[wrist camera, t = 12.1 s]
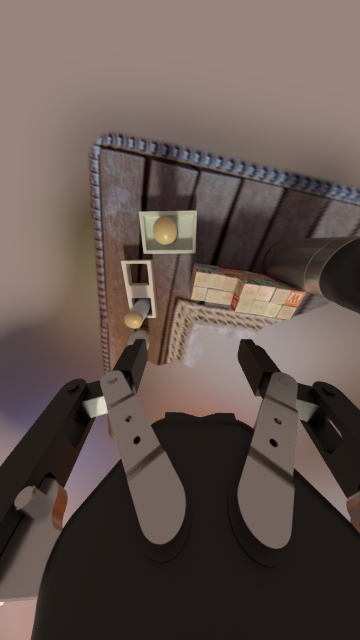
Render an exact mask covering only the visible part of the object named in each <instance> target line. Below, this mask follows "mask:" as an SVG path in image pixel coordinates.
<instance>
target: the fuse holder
mask: <svg viewBox="0 0 360 640" xmlns="http://www.w3.org/2000/svg"><path fill="white" fill-rule="evenodd" d="M121 263H122V268H123V274H124V280H125V285H126V291H127V296H128V302H129V308H130V309H131V308H132V307H133V306H134V304H135V303H136V301H135V298H151V305H152V311H148V313H147V315H146V317H145V318H156V317H157V314H158V311H157V300H156V289H155V277H154V266H153V260H123V261H121ZM130 264H147V267H148V277H149V283H133V282H132V275H131V269H130Z"/></svg>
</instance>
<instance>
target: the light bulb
mask: <svg viewBox="0 0 360 640" xmlns="http://www.w3.org/2000/svg"><path fill="white" fill-rule="evenodd" d="M135 339H145V340H146V346H147V349H148V347H149V345H150V339H149V337H148V329H147V328H146V327H142V328H141V329H140V330H139V331H138V332H135V333H133V334H131V335H130V337H129V339H128V345H133V343H134V341H135Z"/></svg>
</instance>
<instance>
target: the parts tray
mask: <svg viewBox="0 0 360 640" xmlns="http://www.w3.org/2000/svg"><path fill="white" fill-rule="evenodd" d="M139 216H140V225H141V234H142V243H143V252H144V254H166V253H195V252H196V221H197V211H148V212H139ZM160 217H169V218H170V219H172V220H173V221H174V223H175V225H176V227H177V229H178V238H177V240H176V241H175V242H174V243H171V244H166V245H165V244H161V243H159V242H158V241H157V240H156V239H155V237H154V235H153V225H154V223H155V221H156V220H157V219H158V218H160Z"/></svg>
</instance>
